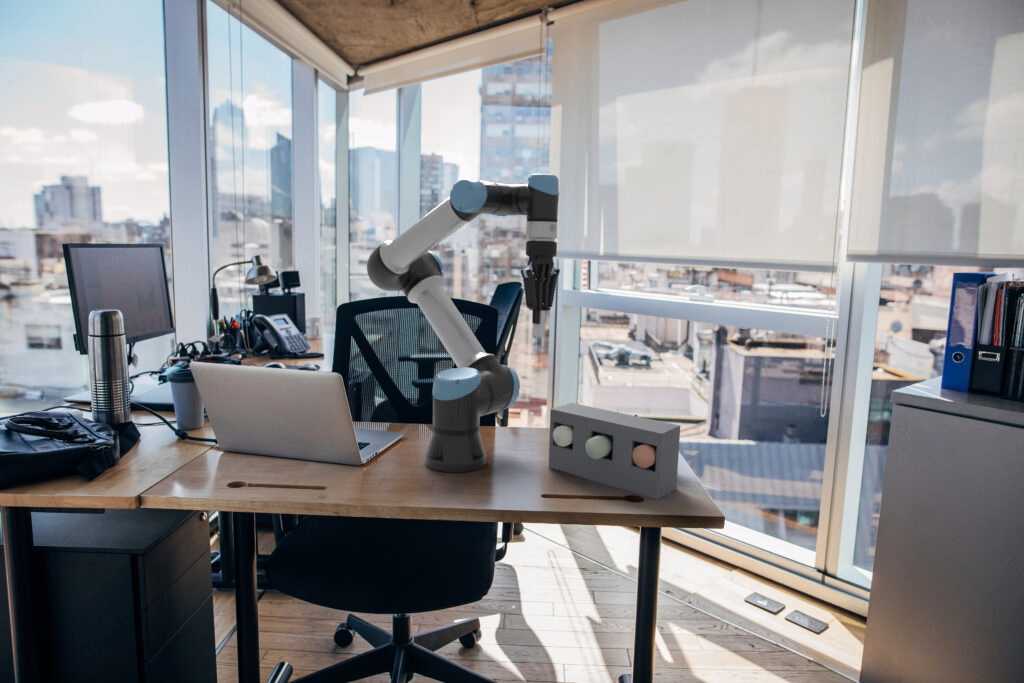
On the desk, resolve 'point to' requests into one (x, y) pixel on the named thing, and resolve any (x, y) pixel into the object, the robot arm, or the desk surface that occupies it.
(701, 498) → the desk surface
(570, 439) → the cream button
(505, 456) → the desk surface
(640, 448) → the terracotta button
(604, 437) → the sage button
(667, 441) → the grey button box
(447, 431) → the robot arm
